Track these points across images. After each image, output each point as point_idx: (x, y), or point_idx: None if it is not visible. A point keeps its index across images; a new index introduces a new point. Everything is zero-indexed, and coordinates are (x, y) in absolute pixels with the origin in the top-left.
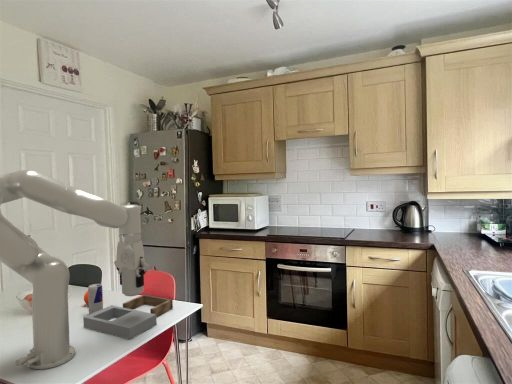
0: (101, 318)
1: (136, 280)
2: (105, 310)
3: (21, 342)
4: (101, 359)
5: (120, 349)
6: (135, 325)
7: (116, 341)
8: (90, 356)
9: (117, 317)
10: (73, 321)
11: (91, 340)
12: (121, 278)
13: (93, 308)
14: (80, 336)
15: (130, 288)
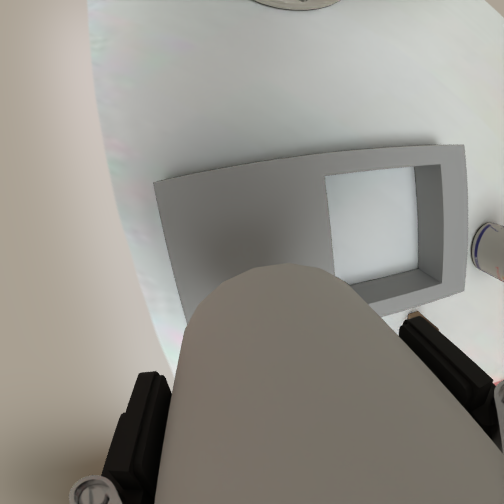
0: (428, 210)
1: (134, 430)
2: (448, 242)
3: (464, 6)
4: (124, 35)
5: (125, 110)
6: (161, 220)
7: (202, 134)
8: (179, 19)
9: (403, 273)
10: (494, 164)
11: (307, 83)
12: (441, 365)
13: (498, 234)
14: (378, 86)
15: (208, 325)
